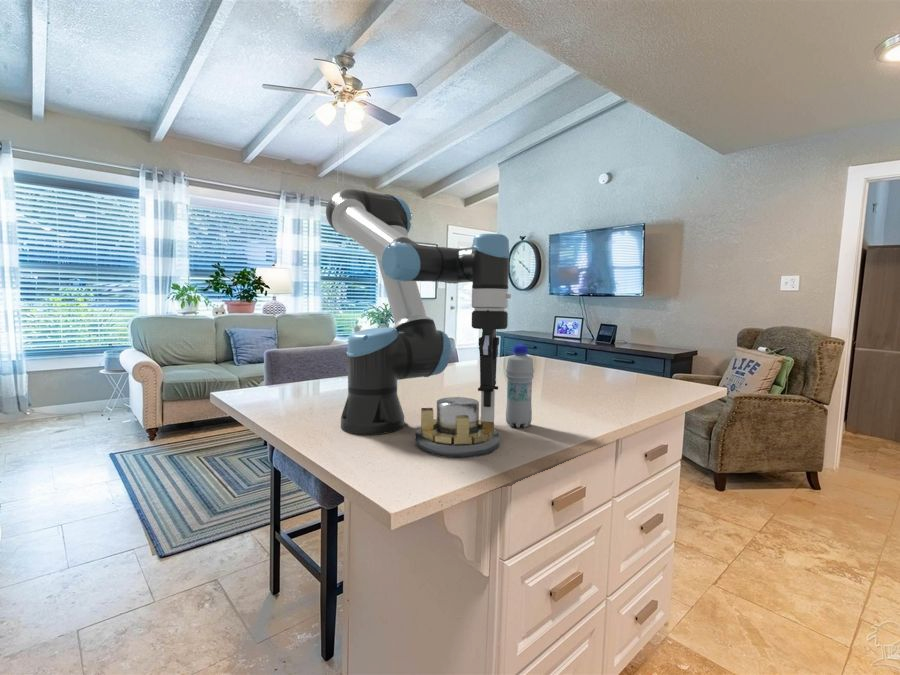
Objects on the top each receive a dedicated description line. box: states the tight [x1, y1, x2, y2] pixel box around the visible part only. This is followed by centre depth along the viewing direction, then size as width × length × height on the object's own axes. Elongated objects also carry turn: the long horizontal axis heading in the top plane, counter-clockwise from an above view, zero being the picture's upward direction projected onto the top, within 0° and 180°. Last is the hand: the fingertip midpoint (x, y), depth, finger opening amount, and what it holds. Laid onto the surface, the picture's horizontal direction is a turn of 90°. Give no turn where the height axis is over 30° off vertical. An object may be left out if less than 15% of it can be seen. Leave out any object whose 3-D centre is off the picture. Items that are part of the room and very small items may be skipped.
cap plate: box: [414, 396, 500, 459], centre depth 97 cm, size 18×18×9 cm
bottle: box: [505, 344, 535, 429], centre depth 110 cm, size 7×7×20 cm
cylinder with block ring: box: [420, 407, 495, 444], centre depth 97 cm, size 15×15×5 cm
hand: (487, 420), depth 97 cm, fingers closed
